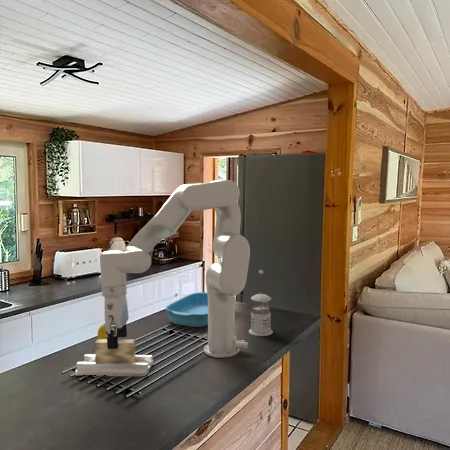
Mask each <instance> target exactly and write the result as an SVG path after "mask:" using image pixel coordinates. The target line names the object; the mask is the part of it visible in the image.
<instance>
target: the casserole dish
mask: <svg viewBox="0 0 450 450" xmlns="http://www.w3.org/2000/svg"><path fill="white" fill-rule="evenodd" d="M165 312H166V314H167V317H168V320H169V321H170V322H171V323H172V324H174V325H178V326H183V327H184V326H187V327H193V328H202V327H206V326H208V294H207V291H206V292H201V291H200V292H194V293H190V294H188V295H185V296H184V297H181V298H180V299H177V300H175V301H174V302H172V303H169V305H166V306H165Z"/></svg>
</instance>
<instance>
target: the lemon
mask: <svg viewBox="0 0 450 450" xmlns="http://www.w3.org/2000/svg"><path fill="white" fill-rule="evenodd" d="M111 330H113V331H114V329H111ZM106 334H107V333H106V325H105V323H103V324H102V325H100V327H99V328H98V330H97V337H98V338H97V340H98V339H107V336H106Z"/></svg>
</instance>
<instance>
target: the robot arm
mask: <svg viewBox="0 0 450 450" xmlns="http://www.w3.org/2000/svg"><path fill="white" fill-rule="evenodd" d="M240 192H241V191H240V188H239V186H238V184H237V183H236V182H235V181H233V180H229V179H215V180H210V181H209V182H203V183H201V182H200V183H185V184H181V185H179V186H178V187H177V188H176V189H175V190H174V191H173V192H172V193H171V195H170V196H169V198H168V199H167V200H166V201H165V203H164V204H163V205H162V206H161V208H160V209H159V210H158V212H156V214H155V215H154V216H153V217H152V218H151V219H150V220H148V222H147V223H146V224H145V225H144V226H143V227H142V228H141V229H140V230H139V231H138V232H137V233H136V234H135V235H134V237H133V238H132V239H131V240H130V242H129V243H128V244H127V245H126V247H125V248H124V249H123V250H120V249H112V250H105V251H103V252H101V253H100V255H99V265H100V266H99V267H100V282H101V296H102V297H103V298H104V324H105V325H106V333H107V334H106V336H107V347H108V349H118V339H119V338H127V337H128V331H127V322H128V320H129V318H130V317H129V307H128V299H127V294H128V291H127V287H128V286H127V275H126V274H141V273H145V272H146V271H148V270H149V269H150V267H151V265H152V257H151V255H150V254H149V253H150V252H151V251H152V250H153V249H154V248H155V246H157V245H158V244H159V243H160V242H161V241H163V240H164V239H166V238H170V237H171V236H172V235H174V234H175V233H176V232H177V231H178V230H179V228H180V226H182V224H183V223H184V222H185V220H186V219H187V218H188V217H189V216H190V214H191V213H192V212H196V211H197V212H199V211H207V210H214V211H215V214H216V215H215V216H216V219H215V228H214V229H215V230H214V236H213V242H212V251H213V253H214V255H216V256H217V257H218V258H220V259H221V261H217V262H214V263H211V264H210V265H209V266H208V268H207V270H206V273H205V284H206V285H205V286H206V292H207V294H208V325H207V344H206V345H204V346H203V353H204V354H205V355H206V356H209V357H211V358H219V359H221V358H222V359H224V358H231V357H234V356H236V355H238V354H239V353H240V348H243V349H248V347H249V343H248V342H246V341H245V340H238V339H237V336H236V298H235V297H236V296H238V295H239V294H241V292H242V291H243V290H244V288H245V287H246V282H247V279H248V278H247V277H248V271H249V266H250V265H249V264H250V257H251V248H250V244H249V241H248V240H247V238H246V237H245V236H243V235H242V234H240V233H241V232H240V231H241V222H242V215H241V209H240V206H239V204H238V200H239V198H240V195H241V194H240ZM111 329H113V330H111Z"/></svg>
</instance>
